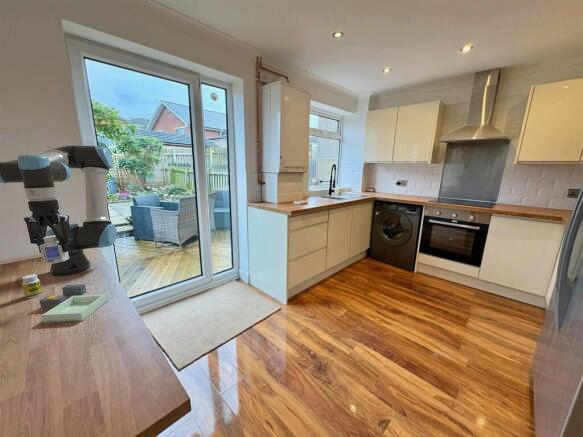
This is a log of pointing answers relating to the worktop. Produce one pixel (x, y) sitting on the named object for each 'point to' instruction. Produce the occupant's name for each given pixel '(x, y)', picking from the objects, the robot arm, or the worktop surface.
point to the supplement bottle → (31, 286)
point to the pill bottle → (51, 249)
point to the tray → (75, 309)
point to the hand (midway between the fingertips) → (56, 260)
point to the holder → (56, 300)
